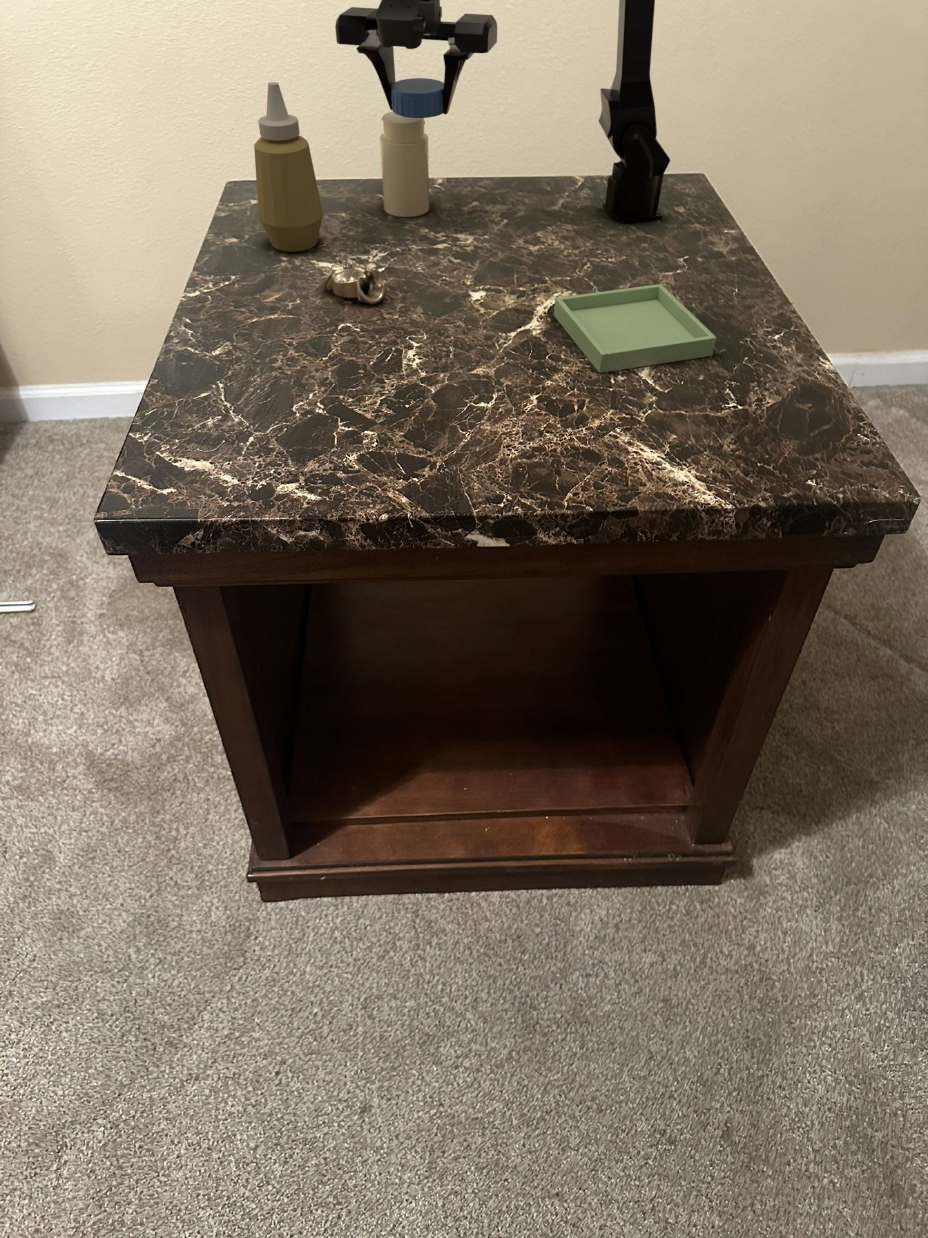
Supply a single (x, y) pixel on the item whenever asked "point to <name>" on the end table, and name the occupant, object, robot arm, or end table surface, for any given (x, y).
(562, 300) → the tray
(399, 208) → the jar
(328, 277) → the ornament
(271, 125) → the squeeze bottle
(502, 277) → the end table surface
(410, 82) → the lid
